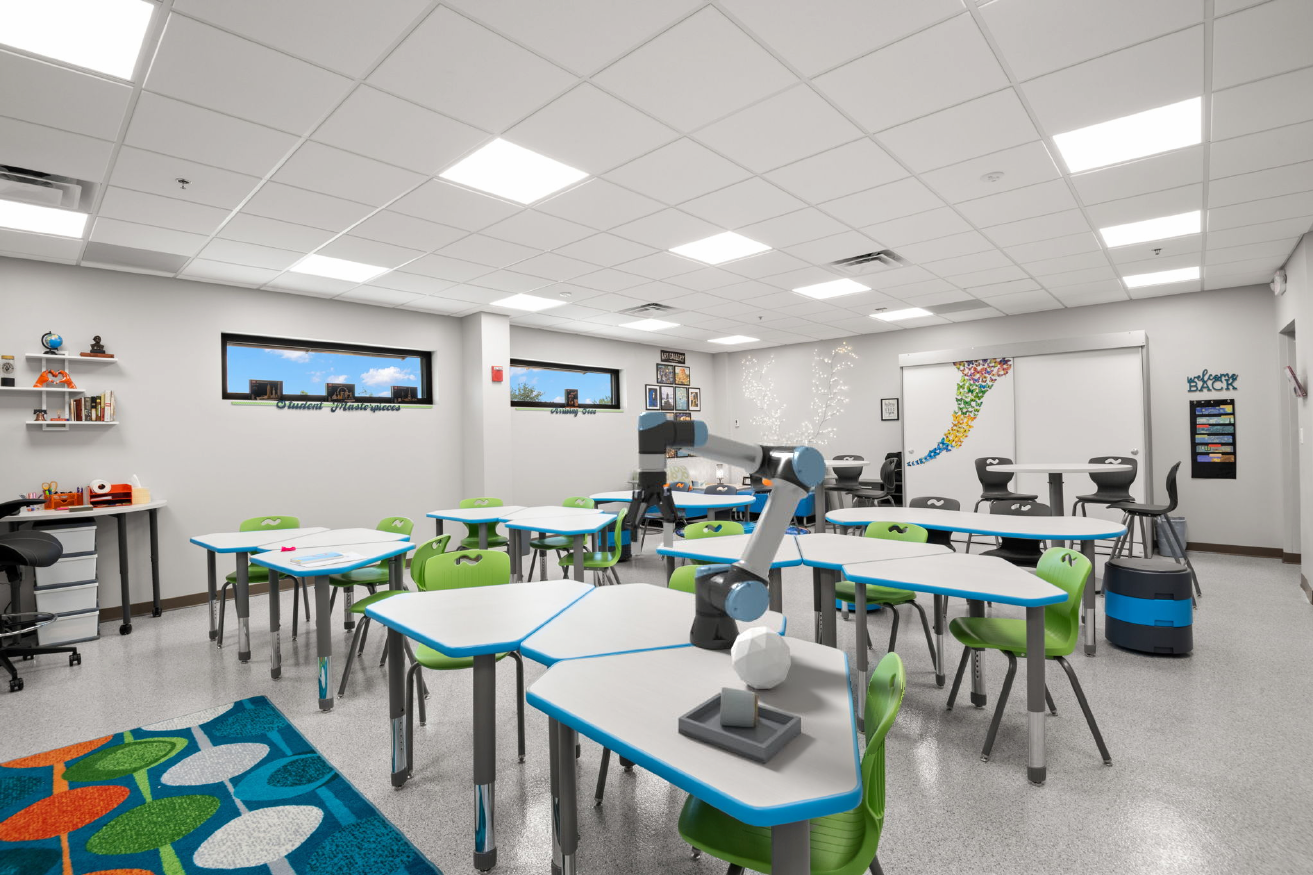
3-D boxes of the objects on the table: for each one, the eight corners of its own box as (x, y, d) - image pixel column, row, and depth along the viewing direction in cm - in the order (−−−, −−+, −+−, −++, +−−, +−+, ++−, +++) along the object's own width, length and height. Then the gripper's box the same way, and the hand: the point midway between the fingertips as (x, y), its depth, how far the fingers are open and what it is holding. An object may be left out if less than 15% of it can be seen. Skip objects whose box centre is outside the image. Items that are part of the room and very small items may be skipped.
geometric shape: (760, 713, 145) (741, 675, 138) (732, 670, 158) (713, 634, 151) (809, 680, 147) (792, 642, 140) (777, 641, 160) (760, 603, 153)
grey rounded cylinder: (758, 733, 122) (758, 697, 122) (719, 731, 123) (719, 695, 124) (757, 712, 132) (757, 678, 133) (721, 710, 133) (721, 676, 134)
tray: (719, 705, 138) (719, 692, 138) (801, 731, 125) (801, 717, 125) (678, 732, 125) (678, 717, 125) (764, 764, 113) (764, 748, 113)
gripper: (669, 468, 171) (669, 542, 171) (610, 471, 152) (610, 556, 151) (691, 468, 167) (691, 545, 166) (632, 472, 147) (632, 559, 147)
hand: (652, 550), depth 159 cm, fingers open, 13 cm apart
